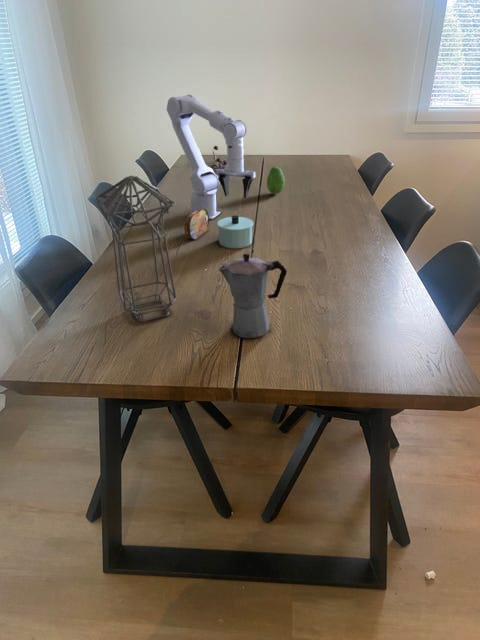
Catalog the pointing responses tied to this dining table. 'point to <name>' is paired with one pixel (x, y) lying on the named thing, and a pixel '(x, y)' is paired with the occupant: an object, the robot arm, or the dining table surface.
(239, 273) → the moka pot
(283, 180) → the avocado
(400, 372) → the dining table surface
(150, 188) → the geometric lantern
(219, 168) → the decorative branch
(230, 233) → the pot
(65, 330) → the dining table surface
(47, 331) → the dining table surface
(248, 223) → the pot lid
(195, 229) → the tin
